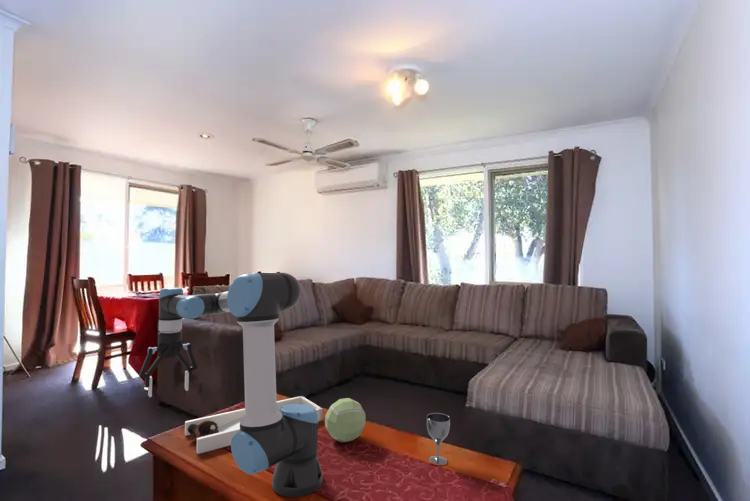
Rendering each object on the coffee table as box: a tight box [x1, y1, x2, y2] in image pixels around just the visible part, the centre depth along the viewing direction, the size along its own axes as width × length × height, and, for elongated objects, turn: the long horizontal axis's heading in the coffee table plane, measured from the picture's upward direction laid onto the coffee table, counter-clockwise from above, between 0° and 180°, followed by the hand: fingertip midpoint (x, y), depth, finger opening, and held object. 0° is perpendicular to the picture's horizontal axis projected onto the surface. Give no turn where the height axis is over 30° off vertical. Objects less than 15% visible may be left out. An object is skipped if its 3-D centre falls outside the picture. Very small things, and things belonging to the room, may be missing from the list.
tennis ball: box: [324, 397, 366, 443], centre depth 153 cm, size 15×15×15 cm
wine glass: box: [426, 412, 451, 465], centre depth 138 cm, size 8×8×15 cm
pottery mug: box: [188, 420, 219, 439], centre depth 150 cm, size 12×10×8 cm
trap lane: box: [184, 395, 324, 455], centre depth 163 cm, size 19×50×7 cm, turn 128°
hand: (168, 392), depth 143 cm, fingers open, 11 cm apart
